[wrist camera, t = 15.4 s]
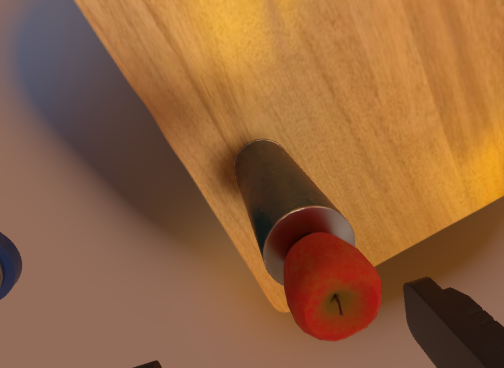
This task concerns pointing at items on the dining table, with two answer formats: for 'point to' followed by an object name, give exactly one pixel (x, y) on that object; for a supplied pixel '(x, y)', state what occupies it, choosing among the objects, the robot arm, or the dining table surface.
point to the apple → (330, 287)
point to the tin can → (283, 203)
